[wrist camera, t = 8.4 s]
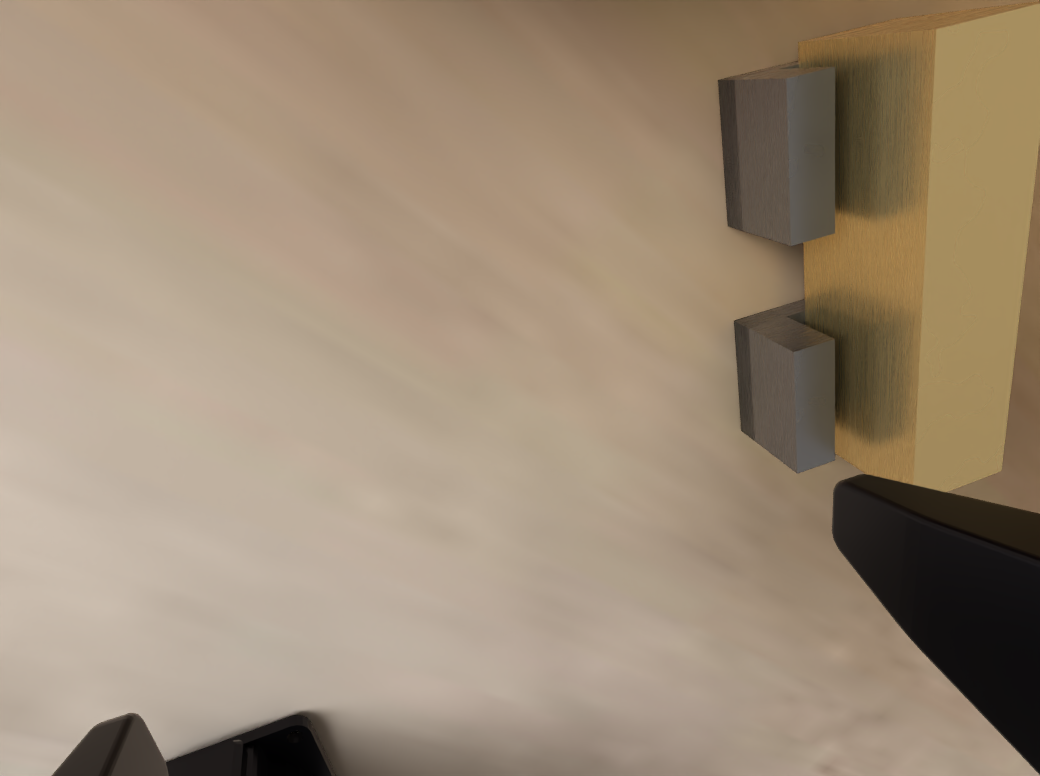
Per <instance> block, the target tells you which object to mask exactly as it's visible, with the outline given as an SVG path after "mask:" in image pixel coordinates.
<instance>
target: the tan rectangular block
mask: <svg viewBox="0 0 1040 776" xmlns="http://www.w3.org/2000/svg"><path fill="white" fill-rule="evenodd" d="M798 53H799V68H816V67H835V234H831V235H828V236H824V237H821V238H817V239H814V240H811V241H807V242H804V243H803V244H804V282H805V321H806V326H808V327H810V328H812V329H814V330H816V331H819V332H821V333H823V334H825V335H827V336H829V337H831V338H834V339H835V453H836V454H837V455H839V456H840V457H842V458H843V459H845V460H846V461H848V462H849V463H850V464H852V465H853V466H855V467H856V468H858V469H859V470H861V471H862V472H864V473H865V474H869V475H873V476H878V477H882V478H886V479H891V480H895V481H899V482H904V483H908V484H912V485H917V486H921V487H925V488H930V489H934V490H939V491H943V492H948V491H951V490H953V489H956V488H959V487H961V486H964V485H966V484H969V483H972V482H974V481H977V480H979V479H982V478H985V477H987V476H990V475H992V474H995V473H998V472H1000V471H1002V462H1003V454H1004V445H1005V436H1006V428H1007V419H1008V410H1009V402H1010V393H1011V384H1012V376H1013V367H1014V358H1015V350H1016V341H1017V332H1018V324H1019V315H1020V306H1021V298H1022V289H1023V280H1024V272H1025V263H1026V254H1027V246H1028V237H1029V228H1030V220H1031V211H1032V202H1033V194H1034V185H1035V176H1036V168H1037V159H1038V150H1039V142H1040V1H1039V2H1031V3H1022V4H1014V5H1005V6H997V7H989V8H980V9H972V10H964V11H955V12H947V13H938V14H930V15H922V16H913V17H905V18H896V19H892V20H888V21H884V22H880V23H876V24H872V25H868V26H864V27H859V28H855V29H851V30H847V31H843V32H839V33H835V34H831V35H827V36H823V37H818V38H814V39H810V40H806V41H802V42H798Z"/></svg>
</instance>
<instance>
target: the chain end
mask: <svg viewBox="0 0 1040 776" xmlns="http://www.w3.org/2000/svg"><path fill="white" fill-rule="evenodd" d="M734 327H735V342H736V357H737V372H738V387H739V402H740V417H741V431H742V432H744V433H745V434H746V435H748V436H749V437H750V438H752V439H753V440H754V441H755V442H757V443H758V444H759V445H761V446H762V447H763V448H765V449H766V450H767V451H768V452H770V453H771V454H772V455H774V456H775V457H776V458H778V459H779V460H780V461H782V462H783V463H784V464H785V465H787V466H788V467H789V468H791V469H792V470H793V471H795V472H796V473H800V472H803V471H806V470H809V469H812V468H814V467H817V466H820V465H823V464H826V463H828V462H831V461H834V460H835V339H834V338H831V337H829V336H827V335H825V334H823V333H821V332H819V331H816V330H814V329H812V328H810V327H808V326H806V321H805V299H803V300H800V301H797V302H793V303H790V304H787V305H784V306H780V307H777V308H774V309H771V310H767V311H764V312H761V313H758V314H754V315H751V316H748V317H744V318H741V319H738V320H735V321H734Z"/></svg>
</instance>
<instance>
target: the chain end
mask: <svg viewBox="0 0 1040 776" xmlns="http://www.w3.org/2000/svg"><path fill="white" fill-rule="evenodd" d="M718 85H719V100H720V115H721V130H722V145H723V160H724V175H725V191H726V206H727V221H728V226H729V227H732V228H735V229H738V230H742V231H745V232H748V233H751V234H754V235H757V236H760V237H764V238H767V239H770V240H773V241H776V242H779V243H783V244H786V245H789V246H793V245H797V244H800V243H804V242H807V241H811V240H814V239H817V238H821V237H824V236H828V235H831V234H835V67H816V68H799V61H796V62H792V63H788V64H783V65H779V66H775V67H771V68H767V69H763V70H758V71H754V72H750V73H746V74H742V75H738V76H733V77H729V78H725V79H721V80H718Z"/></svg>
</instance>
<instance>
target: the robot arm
mask: <svg viewBox="0 0 1040 776" xmlns="http://www.w3.org/2000/svg"><path fill="white" fill-rule="evenodd" d="M832 533H833V538H834V541H835V543H836V545H837V547H838V549H839V550H840V551H841V553H842V554H843V555H844V557H845V558H846V559H847V560H848V562H849V563H850V564H851V565H852V567H853V568H854V569H855V570H856V572H857V573H858V574H859V576H860V577H861V578H862V579H863V581H864V582H865V583H866V584H867V586H868V587H869V588H870V589H871V591H872V592H873V593H874V594H875V596H876V597H877V598H878V600H879V601H880V602H881V603H882V605H883V606H884V607H885V608H886V610H887V611H888V612H889V613H890V615H891V616H892V617H893V618H894V620H895V621H896V622H897V624H898V625H899V626H900V627H901V628H902V629H903V631H904V632H905V633H906V634H907V635H908V637H909V638H910V639H911V640H912V641H913V642H914V643H915V644H916V646H917V647H918V648H919V649H920V650H921V651H922V652H923V653H924V654H925V655H926V656H927V657H928V658H929V660H930V661H931V662H932V663H933V664H934V665H935V666H936V667H937V668H938V669H939V670H940V671H941V672H942V673H943V674H944V675H945V676H946V677H947V678H948V679H949V680H950V681H951V683H952V684H953V685H954V686H955V687H956V688H957V689H958V690H959V691H960V692H961V693H962V694H963V695H964V696H965V697H966V698H967V699H968V700H969V701H970V702H971V703H972V704H973V706H974V707H975V708H976V709H977V710H978V711H979V712H980V713H981V714H982V715H983V716H984V717H985V718H986V719H987V720H988V721H989V722H990V723H991V724H992V725H993V726H994V727H995V729H996V730H997V731H998V732H999V733H1000V734H1001V735H1002V736H1003V737H1004V738H1005V739H1006V740H1007V741H1008V742H1009V743H1010V744H1011V745H1012V746H1013V747H1014V748H1015V749H1016V750H1017V752H1018V753H1019V754H1020V755H1021V756H1022V757H1023V758H1024V759H1025V760H1026V761H1027V762H1028V763H1029V764H1030V765H1031V766H1032V767H1033V768H1034V769H1035V770H1036V771H1037V772H1038V773H1039V774H1040V514H1039V513H1034V512H1030V511H1026V510H1021V509H1017V508H1013V507H1008V506H1004V505H1000V504H995V503H991V502H986V501H982V500H978V499H973V498H969V497H965V496H960V495H956V494H952V493H947V492H943V491H939V490H934V489H930V488H925V487H921V486H917V485H912V484H908V483H904V482H899V481H895V480H891V479H886V478H882V477H878V476H873V475H869V474H861V475H857V476H854V477H851V478H848V479H845V480H842V481H840V482H838V483H837V484H836V486H835V488H834V492H833V517H832ZM293 731H300V732H298V733H291V732H293ZM52 776H336V774H335V772H334V770H333V768H332V766H331V764H330V762H329V759H328V757H327V755H326V753H325V751H324V749H323V747H322V745H321V742H320V740H319V738H318V736H317V734H316V732H315V730H314V728H313V725H312V723H311V721H310V720H309V719H308V718H307V717H305V716H301V715H295V716H291V717H288V718H285V719H282V720H280V721H277V722H274V723H272V724H269V725H266V726H263V727H261V728H258V729H255V730H253V731H250V732H247V733H245V734H242V735H239V736H236V737H234V738H231V739H228V740H226V741H223V742H220V743H218V744H215V745H212V746H209V747H207V748H204V749H201V750H199V751H196V752H193V753H191V754H188V755H185V756H183V757H180V758H177V759H174V760H172V761H169V762H166V763H165V760H164V758H163V756H162V754H161V752H160V751H159V749H158V747H157V745H156V743H155V741H154V739H153V737H152V735H151V733H150V731H149V730H148V728H147V726H146V724H145V722H144V720H143V719H142V718H141V717H140V716H139V715H138V714H135V713H128V714H125V715H122V716H119V717H116V718H113V719H110V720H107V721H104V722H101V723H99V724H97V725H96V726H94V727H93V728H92V729H91V730H90V731H89V732H88V734H87V735H86V736H85V737H84V738H83V739H82V741H81V742H80V743H79V744H78V745H77V747H76V748H75V749H74V750H73V751H72V752H71V754H70V755H69V756H68V757H67V758H66V759H65V761H64V762H63V763H62V764H61V765H60V767H59V768H58V769H57V770H56V771H55V772H54V774H53V775H52Z"/></svg>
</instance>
